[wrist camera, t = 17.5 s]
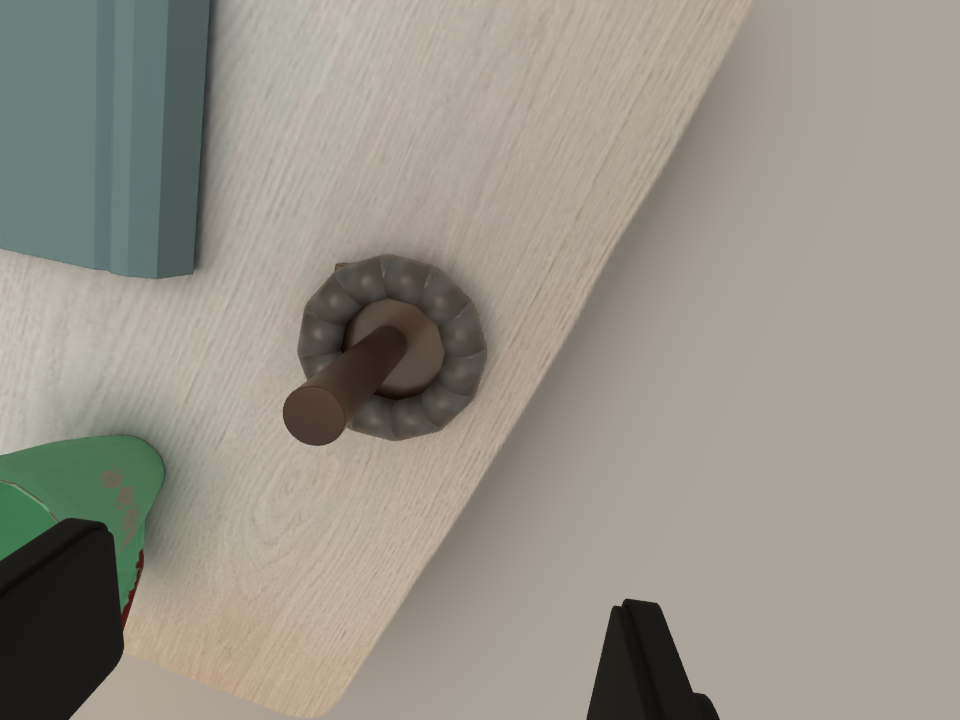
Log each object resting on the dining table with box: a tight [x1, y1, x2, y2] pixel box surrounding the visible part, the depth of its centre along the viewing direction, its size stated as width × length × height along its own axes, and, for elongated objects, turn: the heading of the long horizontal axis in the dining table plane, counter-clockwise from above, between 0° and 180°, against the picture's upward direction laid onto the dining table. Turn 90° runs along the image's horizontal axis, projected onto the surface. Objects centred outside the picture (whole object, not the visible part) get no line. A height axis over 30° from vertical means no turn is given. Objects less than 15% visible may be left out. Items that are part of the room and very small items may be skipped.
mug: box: [0, 435, 165, 630], centre depth 30 cm, size 15×10×10 cm
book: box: [0, 0, 210, 279], centre depth 26 cm, size 23×16×5 cm
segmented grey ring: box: [297, 254, 487, 441], centre depth 29 cm, size 11×11×2 cm
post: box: [283, 263, 468, 446], centre depth 25 cm, size 8×8×13 cm
